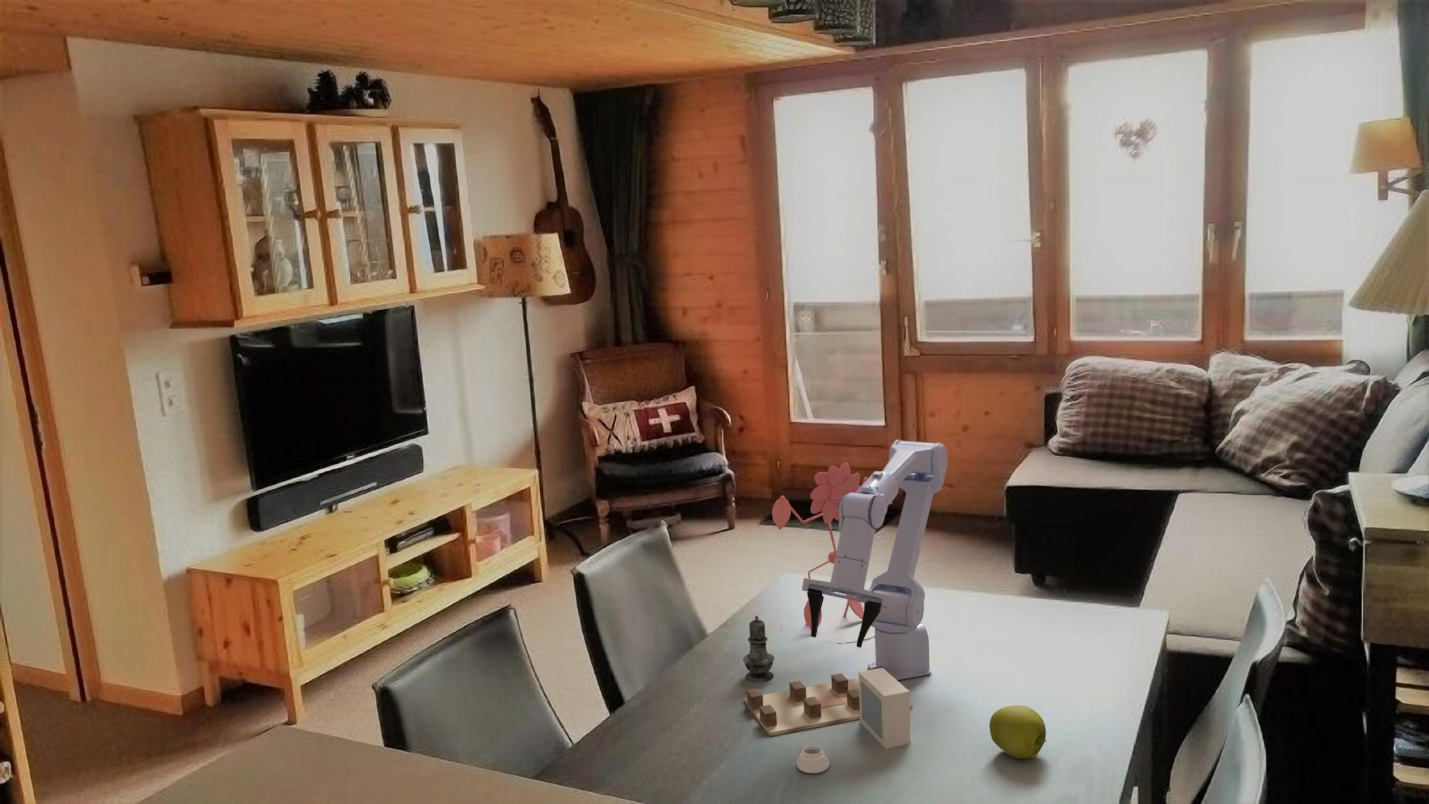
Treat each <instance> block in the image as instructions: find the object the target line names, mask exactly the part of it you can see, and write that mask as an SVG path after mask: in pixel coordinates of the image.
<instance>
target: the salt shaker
mask: <svg viewBox="0 0 1429 804" xmlns="http://www.w3.org/2000/svg"><path fill="white" fill-rule="evenodd" d="M765 625H766V624H765V622H764V621H763V620H761V619H759V617H758V615H755V617H754V619H753V620H751V621H750V623H749V627H748V629H749V637H748V639H747V641H748V643H749V653H748V654H746V655H744V656H743V657H742V661H743V662H744V666H745V668H746V669H747V671H748V672H747V673H746V674H745V676H744V677H745V679H746V680H747V681H749V682H752V683H766V682H770V681H771V680H772V679H774V673H773V672H772V671H770V670H771V669H772V667H773V665H774V661H775V656H774V655H773V654H771V653H769V652H768V651H767V641H768V637H767V636H766V626H765Z"/></svg>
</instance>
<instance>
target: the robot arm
mask: <svg viewBox="0 0 1429 804" xmlns="http://www.w3.org/2000/svg"><path fill="white" fill-rule="evenodd" d="M948 462H949V461H948V452H947V448H946V447H945V445H944V444H943V443H942V442H937V443H935V442H922V441H911V440H910V441H908V440H902V439H896V440H895V441H894V442H893V443H892V444H891V445H890V449H889V452H888V461H887V463H886V465H885V466H884V468H883V469H882V471H880V470H879V471H877V470H875V471H874V472H873V473H872V474H871V475H870V476H869V477H867V478H868V479H867V480H866V482H865V483H864V484H863V483H862V484H863V485H862V484H861V485H860V486H861V487H860V488H859V489H858V490H857V492H856V493H849V494H848V495H845V496H844V497H843V499H842V501H841V503H840V505H839V518H840V520H839V521H838V522H839V523H838V527H837V528H838V532H839V533H840V534H839V538H838V544H837V547H836V551H837V552H836V557H835V562H834V564H833V569H832V573H831V578H830V581H825V580H821V579H820V580H818V579H813V578H810V579H809V578H808V577H804V578H803V581H802V582H803V583H802V586H801V590H802V591H804V592H806V594H807V599H808V600H809V605H810V612H811V630H810V637H812V638H816V637H817V634H818V628H819V626H818V621H819V616H820V612H821V611H822V608H823V603H824V600H825V597H824V596H825V595H826V596H829V597H830V596H831V597H835V598H839V599H844V600H847V599H848V600H853V601H858V602H861V604H862V603H863V611H864V613H863V619H861V625H860V629H859V633H858V635H857V640H856V641H857V642H856V647H857V648H860V649H861V648H862V647H863V643H864V641H865V639H866V638H865V637H866V636H867V634H868V632H869V630H870V628H871V627H872V628H874V636H875V637H874V643H875V644H874V647H875V648H874V651H875V662H870V663H868V664H867V667H868V669H869V670H872V668H874V667H879V666H883V667H884V668H885V669H886V670H887V671H889V674H890V675H892V676H893V677H894V678H895V679H896V680H897V681H901V680H906V679H907V680H908V679H911V678H916V677H917V678H918V677H922V676H928V675H931V674H932V670H931V669H930V640H929V635H928V631H927V629H926V626H925V624H924V623H922V621H923V618H924V612H925V611H924V610H925V597H926V593H925V590H924V588H923V586H922V585H921V584H920V583H919V582H918V581H917V580H916V579H915V578H914V577H915V573H916V568H917V565H918V562H919V556H920V552H921V548H922V543H923V539H924V535H925V532H926V531H925V530H926V527H927V523H928V518H929V514H930V509H931V506H932V500H933V498H934V495H935V494H936V493H938V492H939V491H941V490H942V489H943V485H944V483H945V478H946V474H947V468H948ZM899 488H900V489H901V490H903V491H904V492H905V499H904V503H903V506H902V511H901V515H900V518H899V523H898V527H897V530H896V534H895V540H894V543H893V547H892V551H891V555H890V559H889V564H888V567H887V570H886V571H885V572H883V573H881V574H879V575H878V576H876V577H874V578H872V581H871V584H870V587H869V590H868V589H865V586H866V581H867V574H868V572H869V571H868V570H869V565H870V560H871V556H872V555H871V554H872V549H873V543H874V539H875V535H876V534H875V533H876V531H877V530H876V529H879V528H881V527H882V526H883V523H884V521H885V517H886V514H887V512H888V506H889V505H891V504H890V503H891V502H892V503H893V500H895V498H896V497H897V495H898V493H899ZM847 595H851V596H857V598H855V597H850V596H847ZM808 600H807V601H808ZM848 600H847V601H848ZM863 640H864V641H863Z"/></svg>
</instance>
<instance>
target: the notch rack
mask: <svg viewBox="0 0 1429 804" xmlns="http://www.w3.org/2000/svg"><path fill="white" fill-rule="evenodd" d="M878 668H884V667H883V666H879V667H874V668H872V669H878ZM884 669H885V668H884ZM885 670H886V669H885ZM886 671H887V670H886ZM887 672H888V673H889V671H887ZM830 676H831V677H830V678H831V682H827V683H822V684H816V685H811V686H805V685H804V683H803V682H802V681H801V680H796V681H790V682H789V690H782V691H776V692H772V693H767V694H766V693H765V694H763V693H762V692H761V691H760V690H759V689H758V688H757V687H756V688H751V689H746V697H744V698H743V702H744V703H745V705H746V707H747V708H748V709H749V711H750V712H751V713H752V714H753V716H754V717H755V719H757V721H758V723H759V724H760V725H761V727H762V728H763V729H764V731H766V734H768V736H769V737H772V736H777V735H784V734H787V733H792V732H797V731H803V730H809V729H814V728H819V727H825V726H829V725H833V724H834V725H836V724H839V723H844V722H850V721H855V720H860V701H859V677H855V678H854V677H853V678H850V679H848V678H847V677H846V675H844V674H843V673H842V672H840V673H835V674H831V675H830ZM897 681H898V682H899V683H901V684H902V685H903V686H904V687H905V688H906V689H907V690H908V688H907V686H905V685H904V684H903V683H902V682H901V680H897ZM912 709H913V704H912V703H910V710H912Z"/></svg>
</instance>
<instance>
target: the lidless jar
mask: <svg viewBox="0 0 1429 804" xmlns="http://www.w3.org/2000/svg"><path fill="white" fill-rule="evenodd" d="M796 767H797V768H798V770H799V771H800V772H801V771H802V772H803V773H808V774H818V773H822V772H824V771H827V770H828V768H829V767H830V761H829V758H828V757H827V755H826V753H825V752H824V751H823V749H822V747H820V746H818V745H815V744H814V745H813V744H812V745H806V746H804V747H803V748H802V751H801V753H800V754H799V756H798V759H797V761H796Z"/></svg>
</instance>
